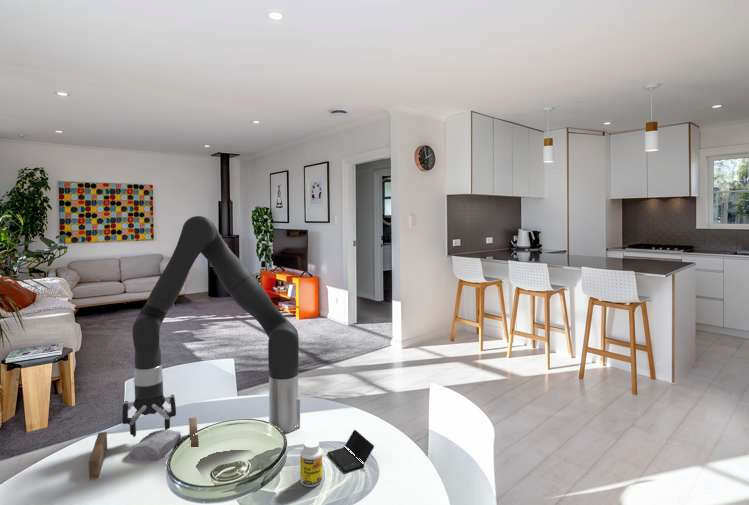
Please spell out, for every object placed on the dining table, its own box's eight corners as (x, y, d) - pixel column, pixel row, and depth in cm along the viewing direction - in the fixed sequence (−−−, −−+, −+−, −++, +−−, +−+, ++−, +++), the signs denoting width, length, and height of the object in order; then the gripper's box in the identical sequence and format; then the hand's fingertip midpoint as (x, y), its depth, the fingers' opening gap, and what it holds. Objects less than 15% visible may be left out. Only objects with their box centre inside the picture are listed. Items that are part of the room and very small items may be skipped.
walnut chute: (196, 432, 139) (196, 417, 138) (198, 458, 124) (198, 441, 124) (99, 449, 128) (98, 432, 128) (89, 480, 113) (88, 461, 113)
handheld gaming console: (321, 452, 126) (341, 420, 128) (336, 459, 130) (355, 428, 133) (345, 476, 117) (366, 442, 120) (360, 482, 122) (380, 449, 124)
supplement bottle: (301, 489, 111) (301, 450, 110) (299, 476, 117) (299, 439, 116) (323, 486, 112) (323, 447, 112) (320, 474, 118) (321, 436, 117)
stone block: (128, 465, 124) (161, 461, 122) (125, 449, 123) (158, 444, 122) (154, 445, 135) (184, 441, 134) (150, 430, 135) (181, 425, 134)
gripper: (175, 373, 138) (176, 423, 140) (122, 379, 133) (124, 431, 134) (174, 381, 131) (176, 434, 133) (119, 388, 126) (121, 443, 127)
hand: (150, 432), depth 134 cm, fingers open, 8 cm apart
